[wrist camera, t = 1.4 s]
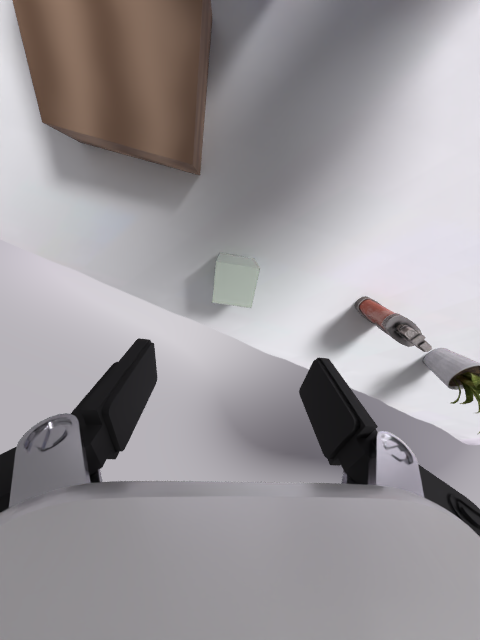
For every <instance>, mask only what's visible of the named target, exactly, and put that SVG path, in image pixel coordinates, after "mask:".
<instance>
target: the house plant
mask: <svg viewBox="0 0 480 640" xmlns="http://www.w3.org/2000/svg"><path fill="white" fill-rule="evenodd" d="M423 362H424V364H425V365H426V366H427V367H428V368H429V369H430V370H431V371H432V372H433V373H434V374H435V375H436V376H437V377H438V378H439V379H440V380H441V381H442V382H443V383H444V384H446V385H447V386H448V387H449V388H450V389H459V397H458V399H457V400H456V401H454V402H452V403H453V404H454V403H456V402H458V400H459V398H460V394H461V390H460V389H463V388H464V389H465V394H466V401H465V402H463V403H460V404H467V403H470V402H472V401H473V395H474V396H475V397H476V399H477V401H478V405H479V411H478V412H480V395H479V394H480V363H478V362H476V361H473V360H471V359H469V358H466V357H464V356H462V355H459V354H457V353H455V352H452V351H450V350H448V349H445V348H438V349H435V350H433V351H431V352H430V353H428V354H427V355H426V356H425V357H424V359H423ZM478 412H477V413H478ZM479 433H480V432H479ZM479 433H478V434H479Z"/></svg>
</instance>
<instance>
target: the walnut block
mask: <svg viewBox="0 0 480 640" xmlns="http://www.w3.org/2000/svg"><path fill="white" fill-rule="evenodd" d="M13 4H14V9H15V13H16V17H17V21H18V25H19V29H20V33H21V37H22V41H23V45H24V49H25V53H26V57H27V61H28V66H29V70H30V74H31V78H32V82H33V86H34V90H35V94H36V98H37V102H38V106H39V110H40V114H41V119H42V122H43V123H45V124H47V125H49V126H50V127H52V128H54V129H56V130H58V131H60V132H62V133H64V134H66V135H68V136H69V137H71V138H73V139H75V140H77V141H79V142H81V143H85V144H89V145H92V146H96V147H99V148H103V149H107V150H110V151H114V152H118V153H121V154H125V155H128V156H132V157H136V158H139V159H143V160H146V161H150V162H154V163H157V164H161V165H165V166H168V167H172V168H175V169H179V170H183V171H186V172H190V173H194V174H197V175H200V169H201V157H202V144H203V131H204V118H205V105H206V92H207V79H208V66H209V53H210V40H211V28H212V9H211V0H13Z"/></svg>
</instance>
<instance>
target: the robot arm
mask: <svg viewBox="0 0 480 640" xmlns="http://www.w3.org/2000/svg"><path fill="white" fill-rule="evenodd" d="M156 382H157V370H156V359H155V348H154V343H151V341H150V340H147V339H137V340H136V341H135V342H134V344H133V345H132V346H131V347H130V349H129V350H128V351H127V352H126V353H125V355H124V356H123V357H122V358H121V359H120V361H119V362H116V363H114V364H113V365H112V366H111V367H110V368H109V369H108V371H107V372H106V373H105V374H104V375H103V377H102V378H101V379H100V380H99V381H98V382H97V383H96V385H95V386H94V387H93V388H92V389H91V390H90V392H89V393H88V394H87V395H86V396H85V398H84V399H83V400H82V401H81V402H80V403H79V405H78V406H77V407H76V408H75V409H74V410H73V412H72V413H71V414H58V415H55V416H52V417H49V418H47V419H45V420H43V421H41V422H39V423H38V424H36V425H35V426H33V427H32V428H31V429H30V430H29V431H27V432H26V433H25V434H24V435H23V437H22V438H21V439H20V441H19V442H18V445H17V447H15V448H13V449H11V450H9V451H7V452H5V453H3V454H1V455H0V640H480V509H479V508H478V507H477V506H476V505H475V504H474V503H472V502H471V501H470V500H469V499H467V498H466V497H465V496H463V495H462V494H460V493H459V492H458V491H456V490H455V489H453V488H452V487H450V486H449V485H447V484H446V483H445V482H443V481H442V480H440V479H439V478H437V477H436V476H434V475H433V474H431V473H430V472H429V471H427V470H426V469H424V468H423V467H421V466H420V465H418V461H417V459H416V456H415V455H414V453H413V451H412V450H411V449H410V448H409V447H408V445H407V444H405V442H403V441H402V440H401V439H400V438H398V437H397V436H395V435H393V434H392V433H390V432H386V431H380V432H379V433H378V432H377V431H376V428H377V425H376V424H375V422H374V421H373V419H372V418H371V417H370V416H369V414H368V413H367V411H366V410H365V408H364V407H363V406H362V404H361V403H360V402H359V400H358V399H357V397H356V396H355V395H354V393H353V392H352V390H351V389H350V388H349V386H348V385H347V383H346V382H345V381H344V379H343V378H342V376H341V375H340V374H339V372H338V371H337V370H336V368H335V367H334V365H333V364H332V363H331V361H330V360H329V359H326V358H317V359H316V360H314V361H313V363H312V365H311V367H310V369H309V372H308V374H307V376H306V378H305V380H304V382H303V384H302V386H301V388H300V391H299V393H300V397H301V399H302V402H303V404H304V407H305V409H306V412H307V414H308V417H309V419H310V422H311V424H312V427H313V429H314V432H315V434H316V437H317V439H318V441H319V444H320V447H321V449H322V452H323V454H324V456H325V457H326V458H327V459H328V461H329V464H330V465H342V467H343V469H344V471H343V478H342V484H330V483H280V482H279V483H278V482H276V483H274V482H201V481H124V482H123V481H120V482H102V478H101V472H100V468H102V467H103V465H104V463H105V461H106V459H116V457H117V456H118V453H119V451H123V450H124V449H125V447H126V445H127V443H128V441H129V439H130V437H131V435H132V433H133V430H134V428H135V426H136V424H137V422H138V420H139V418H140V416H141V414H142V412H143V409H144V408H145V405H146V403H147V401H148V399H149V397H150V395H151V393H152V391H153V389H154V387H155V384H156Z"/></svg>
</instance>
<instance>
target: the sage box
mask: <svg viewBox="0 0 480 640" xmlns="http://www.w3.org/2000/svg"><path fill="white" fill-rule="evenodd" d="M259 271H260V268H259V266H258V264H257V263H256V261H255V259H254V258H248V257H242V256H236V255H230V254H225V253H219V256H218V258H217V260H216V266H215V277H214V287H213V298H212V303H218V304H225V305H233V306H240V307H247V308H251V307H252V303H253V298H254V294H255V289H256V285H257V280H258V276H259Z"/></svg>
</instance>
